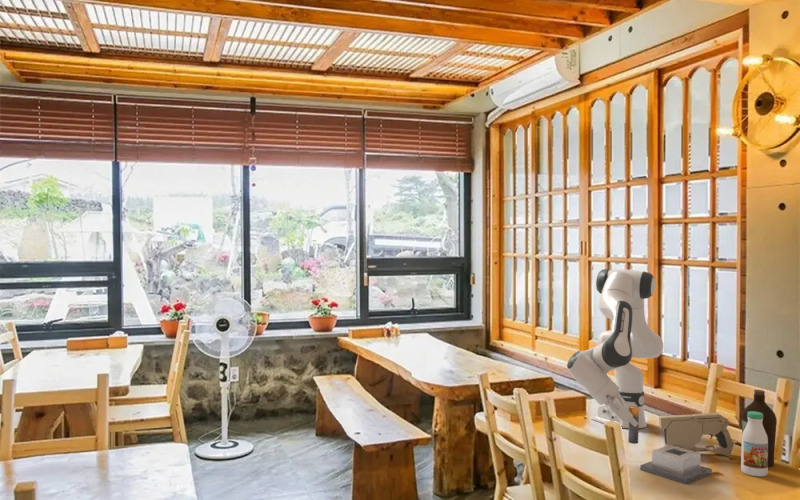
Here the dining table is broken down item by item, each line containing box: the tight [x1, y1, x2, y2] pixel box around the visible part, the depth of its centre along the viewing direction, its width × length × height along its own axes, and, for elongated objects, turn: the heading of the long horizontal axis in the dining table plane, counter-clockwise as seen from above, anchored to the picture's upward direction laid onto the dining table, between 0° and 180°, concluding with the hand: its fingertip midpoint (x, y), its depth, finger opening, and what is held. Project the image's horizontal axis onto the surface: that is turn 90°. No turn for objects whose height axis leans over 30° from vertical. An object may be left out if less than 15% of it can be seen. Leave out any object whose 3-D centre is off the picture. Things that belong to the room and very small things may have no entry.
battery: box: [627, 406, 640, 445], centre depth 219 cm, size 3×3×12 cm
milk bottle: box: [740, 411, 769, 477], centre depth 213 cm, size 8×8×20 cm
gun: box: [658, 412, 734, 457], centre depth 232 cm, size 24×3×15 cm, turn 84°
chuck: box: [639, 445, 713, 485], centre depth 213 cm, size 16×16×6 cm
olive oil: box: [741, 389, 778, 468], centre depth 223 cm, size 11×11×25 cm
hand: (635, 422), depth 219 cm, fingers closed on battery, 3 cm apart
